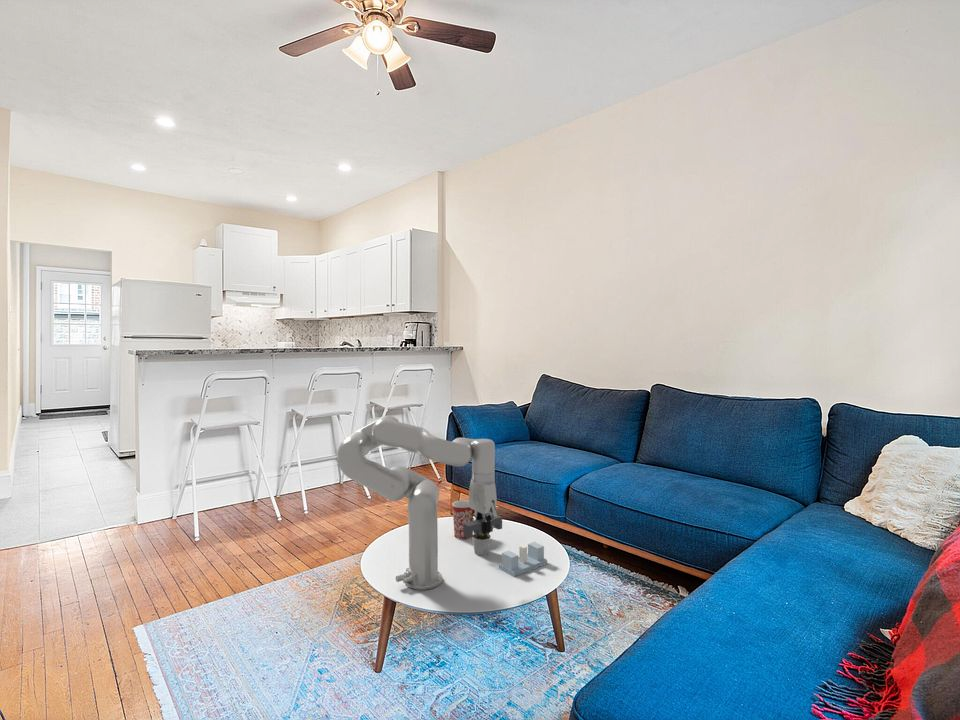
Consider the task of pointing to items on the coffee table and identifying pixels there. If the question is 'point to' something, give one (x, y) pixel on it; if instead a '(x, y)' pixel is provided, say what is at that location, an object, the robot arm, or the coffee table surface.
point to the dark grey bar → (480, 526)
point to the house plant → (480, 541)
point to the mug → (461, 517)
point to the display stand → (523, 559)
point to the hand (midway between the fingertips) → (483, 530)
